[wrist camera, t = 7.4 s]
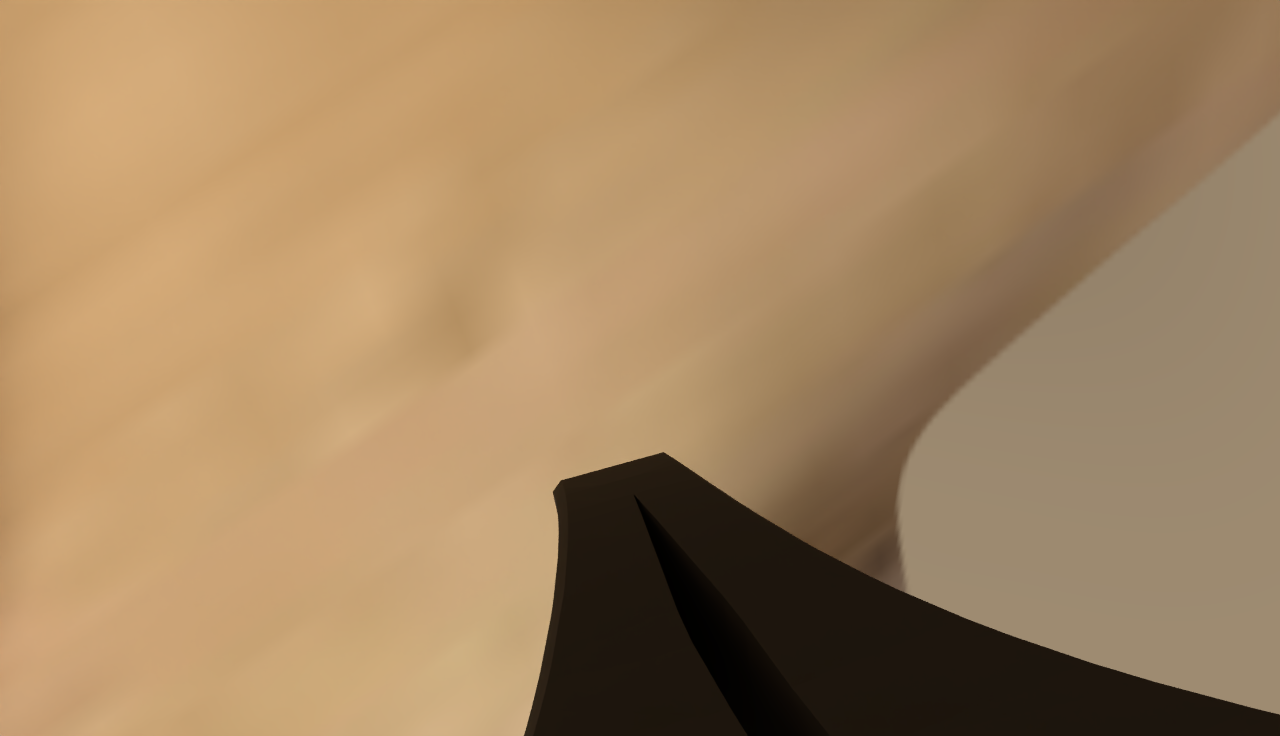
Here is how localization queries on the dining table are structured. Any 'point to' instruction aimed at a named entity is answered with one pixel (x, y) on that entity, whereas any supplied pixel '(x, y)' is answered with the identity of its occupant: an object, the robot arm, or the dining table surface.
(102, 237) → the dining table surface
